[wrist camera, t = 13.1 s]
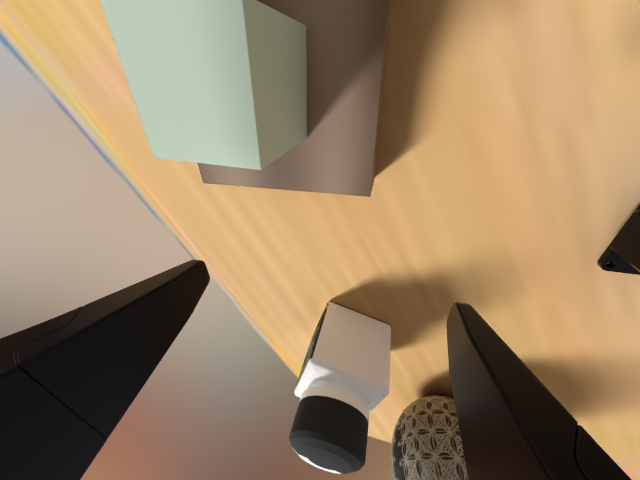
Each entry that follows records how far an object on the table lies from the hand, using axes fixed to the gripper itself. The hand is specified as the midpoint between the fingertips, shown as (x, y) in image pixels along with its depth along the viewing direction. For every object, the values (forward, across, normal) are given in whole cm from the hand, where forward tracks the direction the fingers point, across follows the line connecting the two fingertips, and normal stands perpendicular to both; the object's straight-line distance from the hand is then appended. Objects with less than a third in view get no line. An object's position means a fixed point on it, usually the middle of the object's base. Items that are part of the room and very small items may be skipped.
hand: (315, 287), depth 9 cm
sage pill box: (+8, +5, -6) cm, 12 cm away
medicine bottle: (+12, 0, +18) cm, 22 cm away
